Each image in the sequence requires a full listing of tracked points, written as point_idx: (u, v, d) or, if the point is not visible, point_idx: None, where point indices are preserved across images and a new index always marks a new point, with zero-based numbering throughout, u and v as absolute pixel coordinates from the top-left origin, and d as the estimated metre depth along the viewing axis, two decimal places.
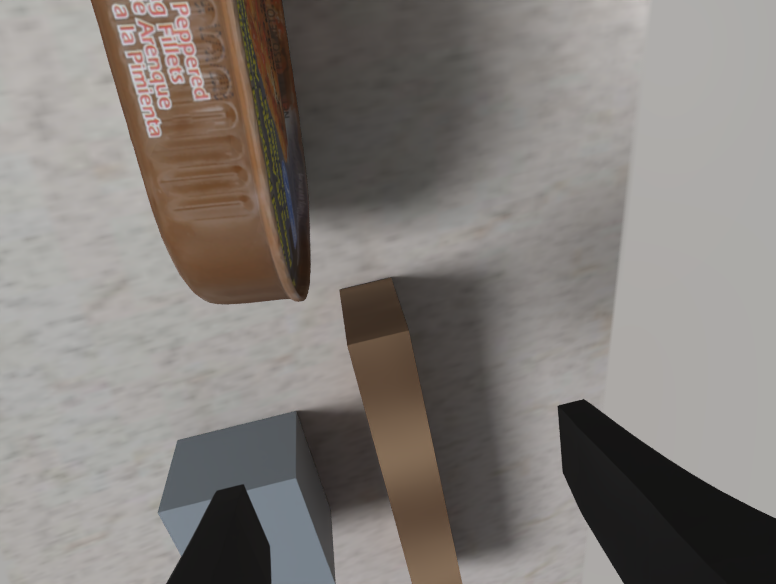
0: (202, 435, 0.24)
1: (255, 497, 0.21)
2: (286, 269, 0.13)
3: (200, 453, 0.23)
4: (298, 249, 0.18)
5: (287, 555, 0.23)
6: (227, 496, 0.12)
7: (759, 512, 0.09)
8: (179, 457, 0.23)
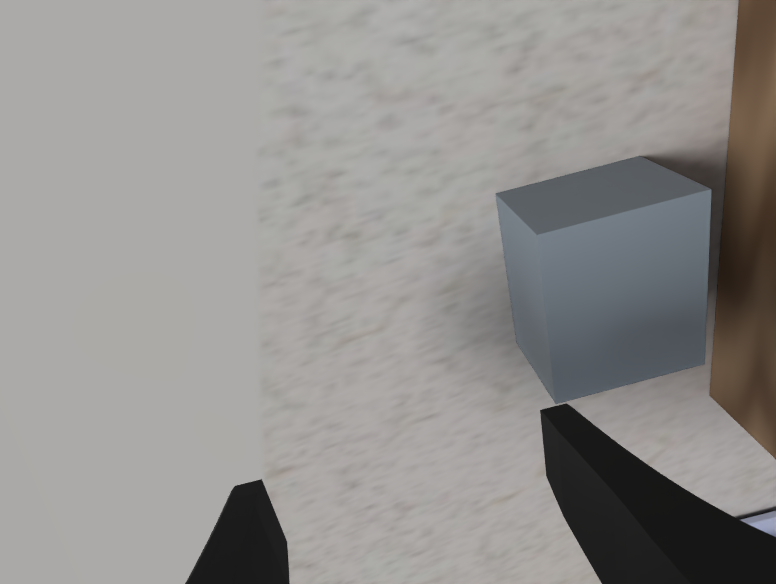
0: (527, 186, 0.19)
1: (656, 217, 0.16)
2: None
3: (541, 195, 0.19)
4: None
5: (664, 314, 0.18)
6: (245, 492, 0.12)
7: (734, 518, 0.09)
8: (514, 201, 0.19)
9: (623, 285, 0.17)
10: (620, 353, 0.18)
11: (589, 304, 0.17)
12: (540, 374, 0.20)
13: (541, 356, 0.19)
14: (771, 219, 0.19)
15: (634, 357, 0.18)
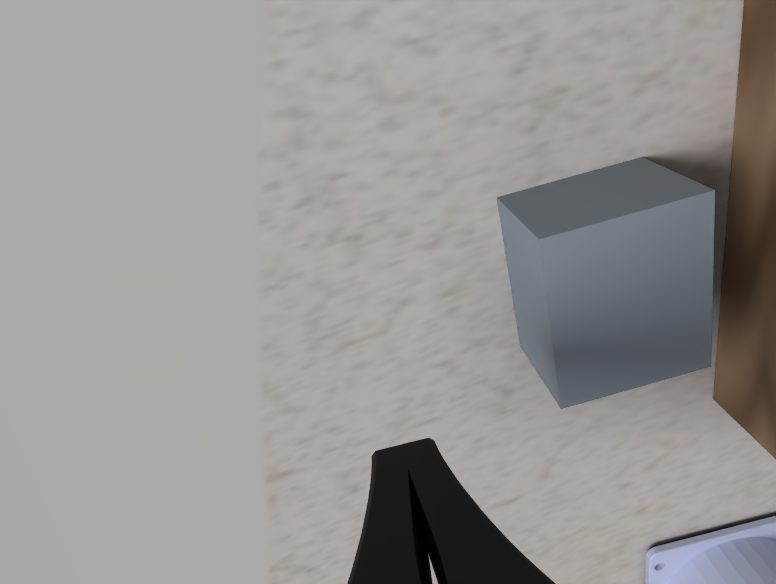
0: (528, 189, 0.19)
1: (659, 220, 0.16)
2: None
3: (542, 199, 0.18)
4: None
5: (670, 317, 0.18)
6: (390, 456, 0.12)
7: (533, 570, 0.09)
8: (516, 205, 0.18)
9: (627, 288, 0.17)
10: (625, 357, 0.18)
11: (593, 308, 0.17)
12: (545, 379, 0.20)
13: (545, 361, 0.19)
14: None
15: (639, 360, 0.18)
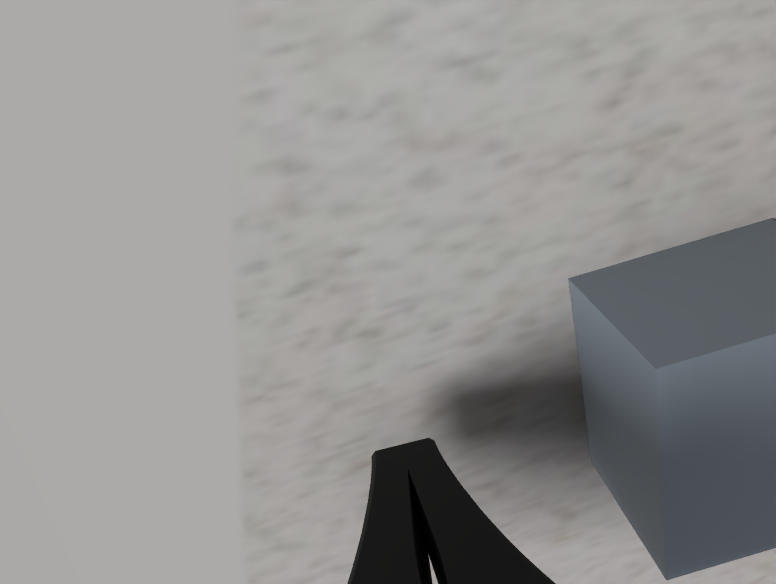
0: (613, 267, 0.14)
1: None
2: None
3: (639, 286, 0.13)
4: None
5: None
6: (390, 455, 0.12)
7: (533, 570, 0.09)
8: (601, 296, 0.13)
9: None
10: (762, 513, 0.13)
11: (725, 455, 0.12)
12: (637, 526, 0.14)
13: (642, 510, 0.13)
14: None
15: None
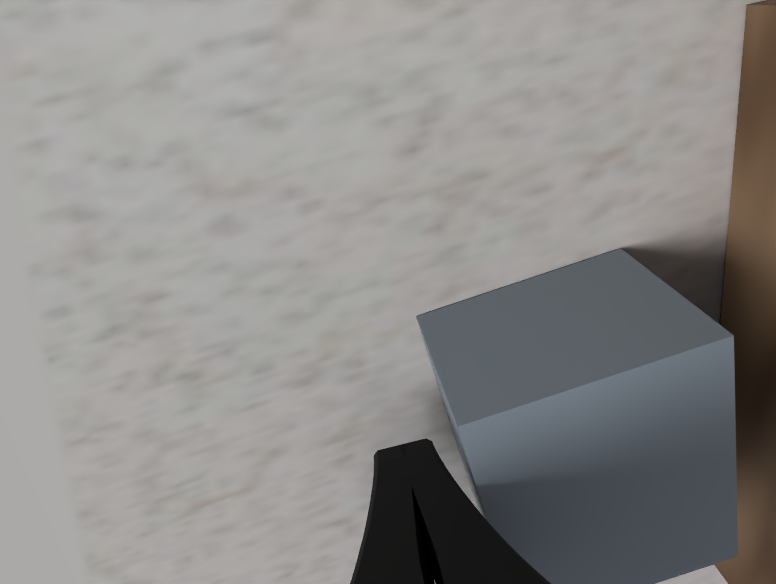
0: (462, 306, 0.14)
1: (647, 384, 0.10)
2: None
3: (477, 329, 0.13)
4: None
5: (673, 504, 0.12)
6: (393, 455, 0.12)
7: (530, 571, 0.09)
8: (439, 340, 0.13)
9: (605, 476, 0.11)
10: (609, 558, 0.12)
11: (555, 506, 0.11)
12: None
13: None
14: None
15: (631, 560, 0.12)
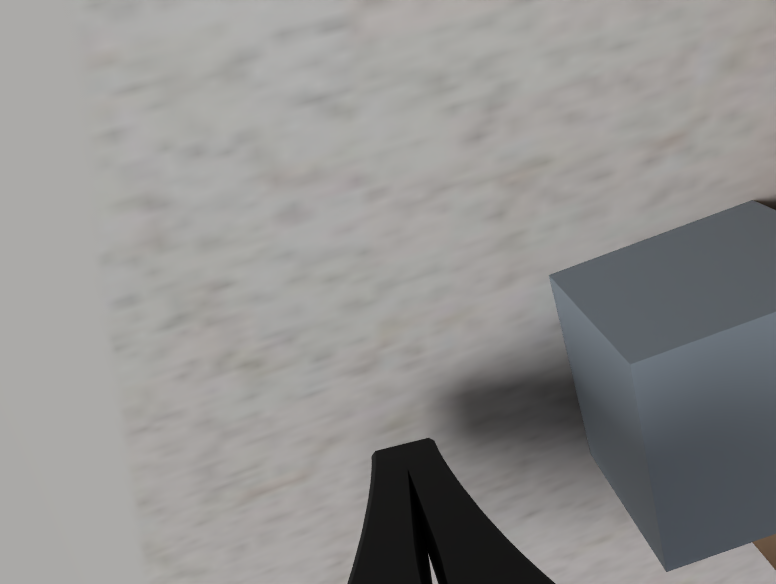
0: (593, 260, 0.14)
1: None
2: None
3: (618, 279, 0.13)
4: None
5: None
6: (390, 455, 0.12)
7: (533, 570, 0.09)
8: (580, 291, 0.13)
9: (763, 413, 0.11)
10: (758, 499, 0.12)
11: (713, 445, 0.12)
12: (636, 519, 0.14)
13: (638, 503, 0.13)
14: None
15: None
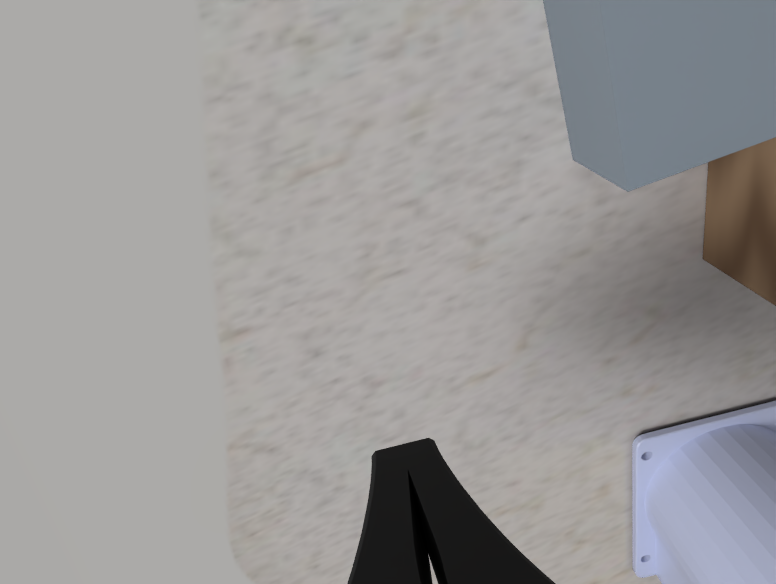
0: None
1: None
2: None
3: None
4: None
5: (745, 67, 0.16)
6: (391, 455, 0.12)
7: (533, 570, 0.09)
8: None
9: (696, 30, 0.15)
10: (696, 121, 0.16)
11: (659, 57, 0.15)
12: (606, 171, 0.18)
13: (606, 142, 0.17)
14: None
15: (712, 126, 0.17)
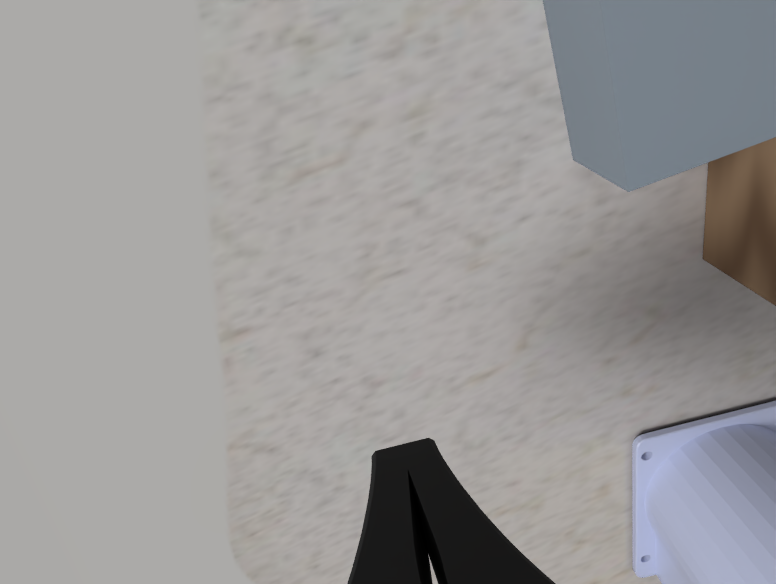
0: None
1: None
2: None
3: None
4: None
5: (745, 67, 0.16)
6: (391, 455, 0.12)
7: (533, 570, 0.09)
8: None
9: (696, 30, 0.15)
10: (697, 121, 0.16)
11: (659, 58, 0.15)
12: (606, 171, 0.18)
13: (607, 143, 0.17)
14: None
15: (713, 126, 0.17)
